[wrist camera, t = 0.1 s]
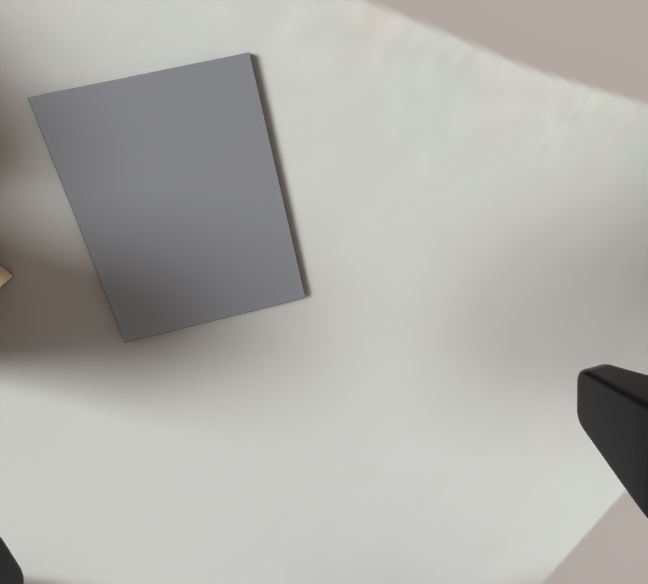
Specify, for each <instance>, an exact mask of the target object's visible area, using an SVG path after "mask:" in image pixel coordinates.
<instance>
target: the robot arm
mask: <svg viewBox="0 0 648 584" xmlns="http://www.w3.org/2000/svg"><path fill="white" fill-rule="evenodd" d="M577 413H578V418H579V421H580V423H581V425H582V427H583V429H584V430H585V432H586V433H587V435H588V436H589V437H590V439H591V440H592V442H593V443H594V445H595V446H596V447H597V449H598V450H599V452H600V453H601V454H602V456H603V457H604V459H605V460H606V462H607V463H608V464H609V466H610V467H611V469H612V470H613V471H614V473H615V474H616V476H617V477H618V479H619V480H620V481H621V483H622V484H623V486H624V487H625V488H626V490H627V491H628V493H629V494H630V496H631V497H632V498H633V500H634V501H635V502H636V504H637V505H638V506H639V508H640V509H641V510H642V512H643V513H644V514H645V515H646V517H647V518H648V375H644V374H641V373H637V372H634V371H630V370H626V369H623V368H619V367H615V366H612V365H608V364H602V365H598V366H595V367H591V368H587V369H584V370H582V371H581V372H580V373H579V375H578V380H577ZM0 584H24V579H23V574H22V570H21V568H20V566H19V565H18V563H17V562H16V560H15V559H14V557H13V555H12V554H11V552H10V551H9V549H8V548H7V546H6V544H5V543H4V541H3V540H2V538H1V537H0Z"/></svg>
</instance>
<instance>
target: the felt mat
mask: <svg viewBox="0 0 648 584" xmlns="http://www.w3.org/2000/svg"><path fill="white" fill-rule="evenodd" d="M28 100H29V103H30V105H31V108H32V110H33V113H34V115H35V118H36V120H37V123H38V125H39V128H40V130H41V133H42V135H43V138H44V140H45V143H46V145H47V148H48V150H49V153H50V155H51V158H52V161H53V163H54V166H55V168H56V171H57V173H58V176H59V178H60V181H61V183H62V186H63V188H64V191H65V193H66V196H67V198H68V201H69V203H70V206H71V208H72V211H73V213H74V216H75V218H76V221H77V223H78V226H79V228H80V231H81V233H82V236H83V238H84V241H85V243H86V246H87V248H88V251H89V253H90V256H91V258H92V261H93V263H94V266H95V268H96V271H97V274H98V276H99V279H100V281H101V284H102V286H103V289H104V291H105V294H106V296H107V299H108V301H109V304H110V306H111V309H112V311H113V314H114V316H115V319H116V321H117V324H118V326H119V329H120V331H121V334H122V336H123V339H124V341H125V342H129V341H133V340H137V339H141V338H145V337H149V336H153V335H157V334H162V333H166V332H170V331H174V330H178V329H182V328H186V327H190V326H194V325H198V324H202V323H206V322H210V321H214V320H219V319H223V318H227V317H231V316H235V315H239V314H243V313H247V312H251V311H255V310H259V309H263V308H267V307H271V306H275V305H280V304H284V303H288V302H292V301H296V300H300V299H304V298H305V294H304V290H303V285H302V281H301V277H300V272H299V268H298V263H297V259H296V255H295V250H294V246H293V242H292V237H291V233H290V228H289V224H288V220H287V215H286V211H285V207H284V202H283V198H282V193H281V189H280V185H279V180H278V176H277V172H276V167H275V163H274V158H273V154H272V150H271V145H270V141H269V137H268V132H267V128H266V123H265V119H264V115H263V110H262V106H261V102H260V97H259V93H258V88H257V84H256V80H255V75H254V71H253V67H252V62H251V58H250V53H245V54H240V55H235V56H230V57H225V58H220V59H215V60H210V61H206V62H201V63H196V64H191V65H186V66H181V67H176V68H171V69H166V70H162V71H157V72H152V73H147V74H142V75H137V76H132V77H127V78H122V79H117V80H113V81H108V82H103V83H98V84H93V85H88V86H83V87H78V88H73V89H69V90H64V91H59V92H54V93H49V94H44V95H39V96H34V97H29V98H28Z"/></svg>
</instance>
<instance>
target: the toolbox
mask: <svg viewBox="0 0 648 584" xmlns="http://www.w3.org/2000/svg"><path fill="white" fill-rule="evenodd" d="M12 277H13V276H12V275H11V274H10V273H9V272H8V271H6V270H5V269H4V268H3V267H2V266H0V287H1V286H2V285H4V284H5V283H6V282H7V281H8V280H9V279H10V278H12Z"/></svg>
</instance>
